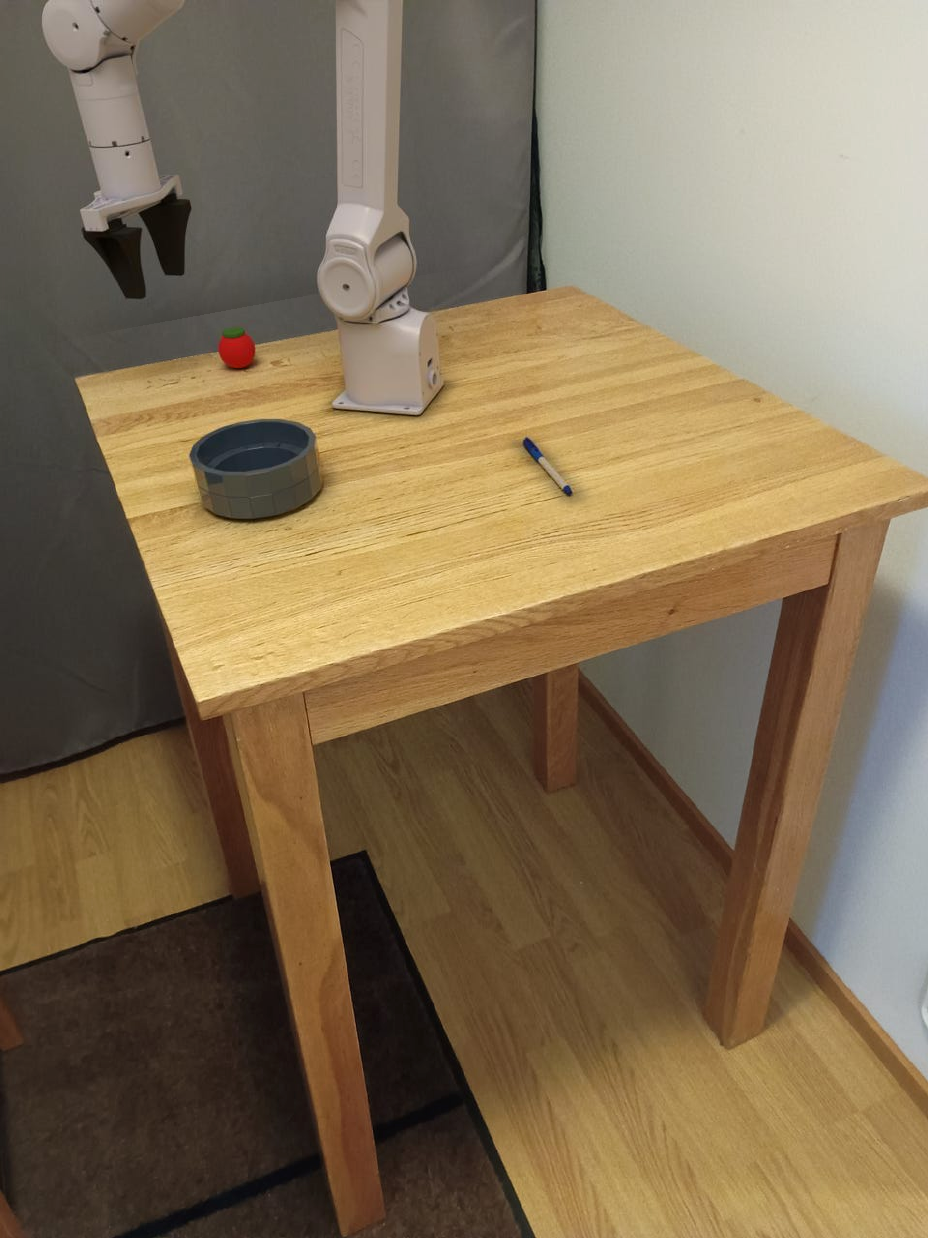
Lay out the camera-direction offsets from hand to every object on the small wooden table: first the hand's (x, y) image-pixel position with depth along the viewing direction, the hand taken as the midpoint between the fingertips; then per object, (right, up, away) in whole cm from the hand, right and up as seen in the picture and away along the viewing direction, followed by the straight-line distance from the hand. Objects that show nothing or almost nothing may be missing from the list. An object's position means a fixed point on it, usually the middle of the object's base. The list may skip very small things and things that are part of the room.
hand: (155, 285), depth 97 cm
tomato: (+7, -7, +7) cm, 12 cm away
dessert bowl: (+15, -24, -17) cm, 33 cm away
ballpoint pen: (+40, -22, -16) cm, 48 cm away
